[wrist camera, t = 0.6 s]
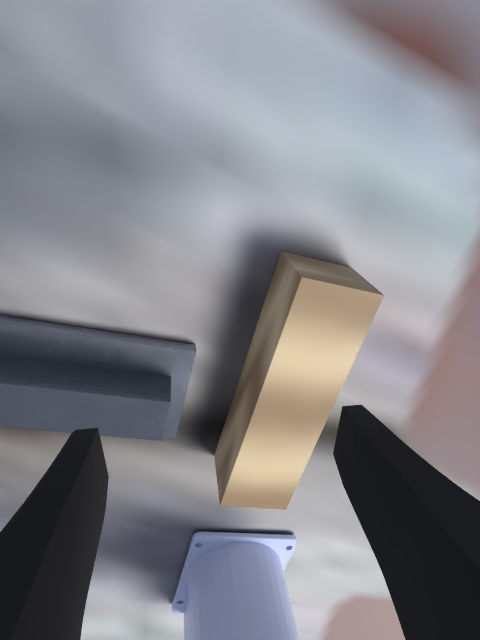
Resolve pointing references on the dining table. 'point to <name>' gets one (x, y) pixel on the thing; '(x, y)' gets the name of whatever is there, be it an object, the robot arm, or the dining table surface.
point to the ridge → (91, 380)
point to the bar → (291, 378)
